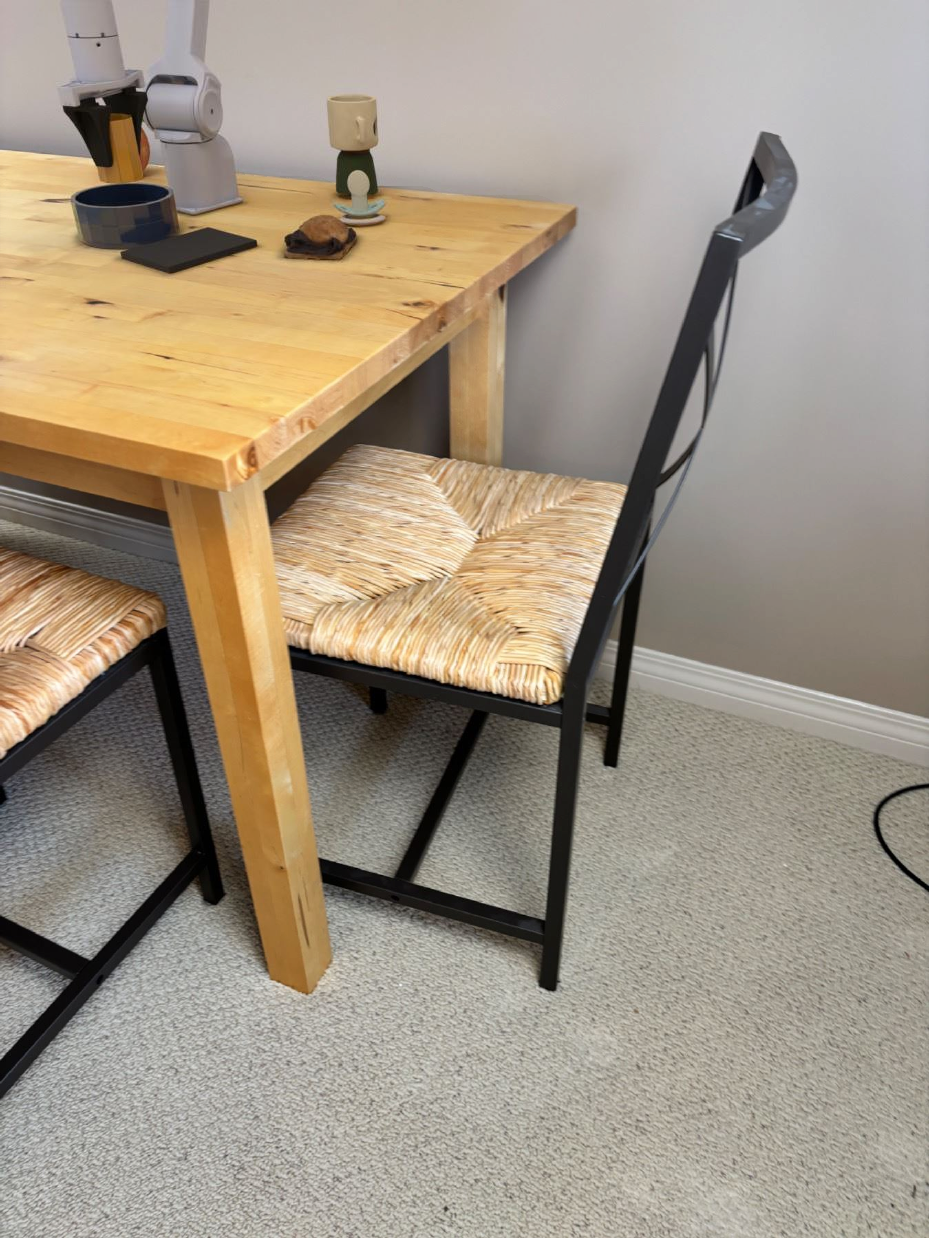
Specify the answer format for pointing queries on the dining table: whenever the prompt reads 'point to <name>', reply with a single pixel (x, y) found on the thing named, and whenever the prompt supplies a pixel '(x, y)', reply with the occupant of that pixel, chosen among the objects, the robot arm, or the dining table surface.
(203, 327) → the dining table surface
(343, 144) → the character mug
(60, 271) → the dining table surface
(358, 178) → the pacifier
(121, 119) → the cup
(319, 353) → the dining table surface
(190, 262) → the pot holder
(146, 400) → the dining table surface
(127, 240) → the pot
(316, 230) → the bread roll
